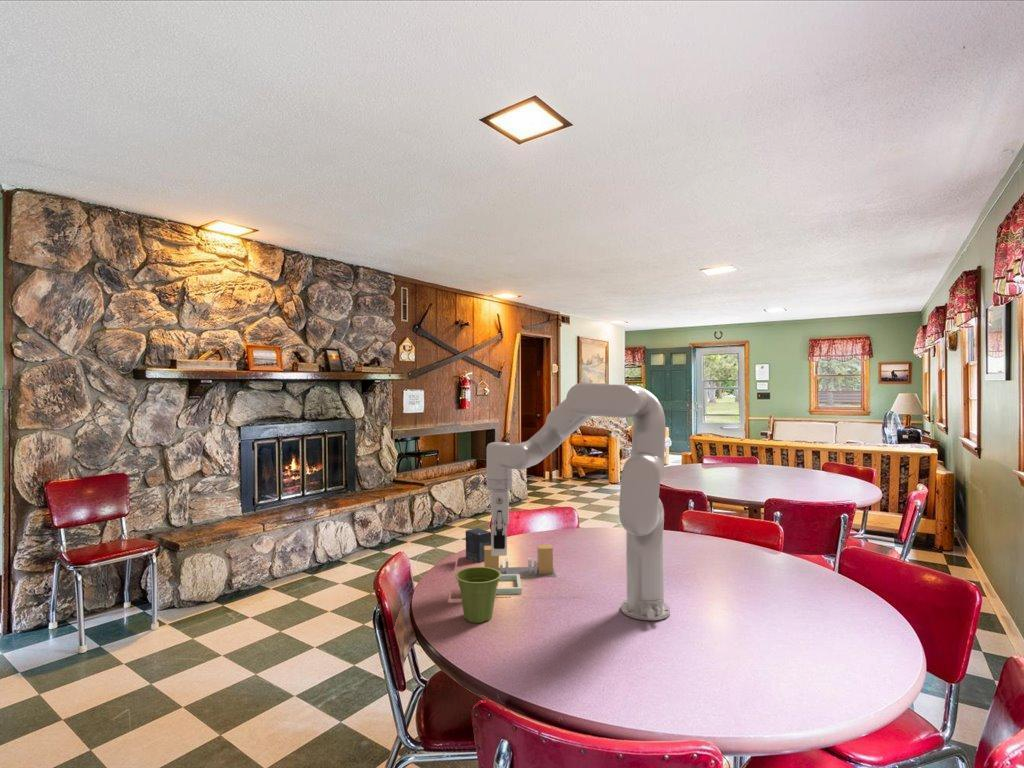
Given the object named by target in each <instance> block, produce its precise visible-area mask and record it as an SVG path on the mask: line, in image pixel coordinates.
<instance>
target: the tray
mask: <svg viewBox="0 0 1024 768" xmlns="http://www.w3.org/2000/svg"><path fill="white" fill-rule="evenodd" d="M499 581H501V582H502V581H504V582H505V581H516V586H513V587H512V586H511V587H510V586H509V587H508V586H507V587H497V589H496V595H522V594H523V588H522V583H521V582H522V581H521V578H520V574H501V577H500V578H499ZM499 581H498V582H499ZM499 598H500V599H503V598H507V599H508V598H510V596H495V599H499Z"/></svg>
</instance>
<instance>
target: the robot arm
mask: <svg viewBox="0 0 1024 768" xmlns="http://www.w3.org/2000/svg"><path fill="white" fill-rule="evenodd" d="M592 417H603V418H617V419H629V418H631V419H632V421H633V422H632V423H633V424H632V425H633V426H632V434H631V451H630V456H629V458H628V459H626V461H625V462H624V464H623V466H622V470H621V475H620V477H621V478H620V489H619V491H620V492H619V505H618V517H619V522H620V525H621V526H622V528H623V529H624V530H625V531H626V535H625V536H626V540H625V541H626V542H625V543H626V544H625V547H626V550H625V553H626V554H625V555H626V557H625V558H626V559H625V561H626V566H625V567H626V569H625V570H626V599H625V600H624V601H622V602H621V604H620V609H621V612H622V613H623V614H624V615H626V616H627V617H630V618H631V619H635V620H640V621H650V622H651V621H661V620H664V619H666V618H668V617H669V616H670V615H671V608H670V606H669V605H668V604H667V603H665V595H664V591H665V585H664V527H665V526H664V523H665V509H664V504H663V502H662V500H661V498H660V488H661V487H660V484H661V481H662V479H663V478H664V474H665V454H666V453H665V449H666V415H665V411H664V408H663V406H662V404H661V402H660V400H659V399H658V398H657V397H656V396H655V395H654V394H653V393H652V392H650V391H649V390H647V389H646V388H644V387H642V386H639V385H636V384H635V385H634V384H606V383H605V384H604V383H590V382H579V383H576V384H574V385H573V386H572V387H571V388H569V390H568V392H567V393H566V397H565V399H564V400H562V401H561V402H560V403H559V404H558V405H557V406H556V407H555V408H553V409H552V410H551V411H550V412H549V413H548V414H547V416H546V420H545V423H544V425H543V426H542V427H541V428H540V429H539V430H538V431H537V432H536V433H534V435H532V436H531V437H530V438H529V439H527V440H526V441H521V442H519V443H518V442H517V443H512V444H511V443H510V442H506V441H493V442H490V443H488V444H487V446H486V490H487V491H490V514H491V515H490V516H491V518H492V524H493V525H494V524H495V535H494V549H504V548H505V535H504V523H505V524H507V526H509V524H510V497H509V496H510V495H509V491H512V490H513V486H512V485H513V475H512V474H513V473H512V472H513V470H517V471H522V470H526V469H528V468H531V467H534V466H536V465H538V464H539V463H541V462H542V461H543V460H544V459H546V458H547V457H548V456H549V455H550V454H552V452H554V451H555V450H556V449H557V448H559V446H560V445H562V443H564V442H565V441H566V440H567V438H569V436H571V435H572V434H573V433H574V432H575V431H577V430H578V429H579V428H580V427H581V426H582V425H583V424H585V423H586V422H587V421H588V420H590V419H591V418H592ZM494 521H495V522H494ZM496 522H497V524H496ZM502 522H503V524H502ZM496 526H497V528H496ZM496 531H497V533H496ZM496 534H497V535H496Z"/></svg>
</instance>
